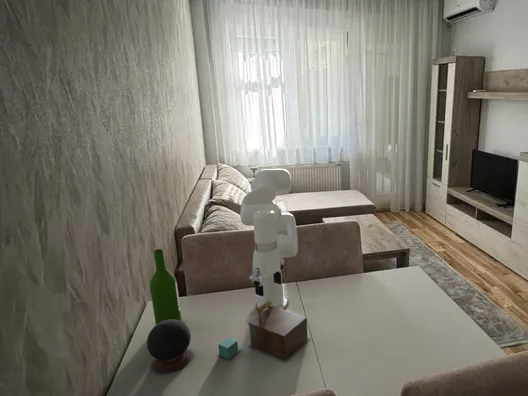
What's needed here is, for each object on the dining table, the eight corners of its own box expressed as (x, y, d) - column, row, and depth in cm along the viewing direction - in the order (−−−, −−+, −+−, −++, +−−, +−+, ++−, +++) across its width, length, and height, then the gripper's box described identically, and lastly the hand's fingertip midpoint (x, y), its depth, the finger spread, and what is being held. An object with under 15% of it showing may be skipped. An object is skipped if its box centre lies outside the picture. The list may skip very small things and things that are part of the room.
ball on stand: (147, 358, 132) (141, 320, 128) (188, 343, 140) (183, 307, 136) (154, 380, 122) (147, 340, 118) (197, 363, 129) (192, 325, 125)
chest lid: (247, 324, 136) (246, 311, 135) (271, 307, 147) (271, 294, 146) (284, 338, 129) (283, 324, 127) (306, 319, 140) (306, 306, 138)
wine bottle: (186, 327, 149) (175, 250, 140) (162, 337, 143) (149, 257, 134) (176, 318, 155) (166, 243, 146) (153, 327, 149) (140, 250, 140)
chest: (251, 346, 138) (249, 325, 136) (274, 328, 149) (273, 308, 147) (285, 360, 131) (284, 338, 129) (307, 340, 142) (306, 319, 140)
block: (219, 355, 134) (218, 344, 132) (229, 347, 138) (228, 337, 136) (228, 359, 132) (227, 348, 130) (238, 351, 135) (237, 340, 134)
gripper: (274, 235, 142) (276, 277, 147) (240, 251, 127) (243, 297, 132) (290, 238, 139) (292, 281, 143) (257, 256, 124) (260, 302, 129)
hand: (269, 289), depth 138 cm, fingers open, 9 cm apart
